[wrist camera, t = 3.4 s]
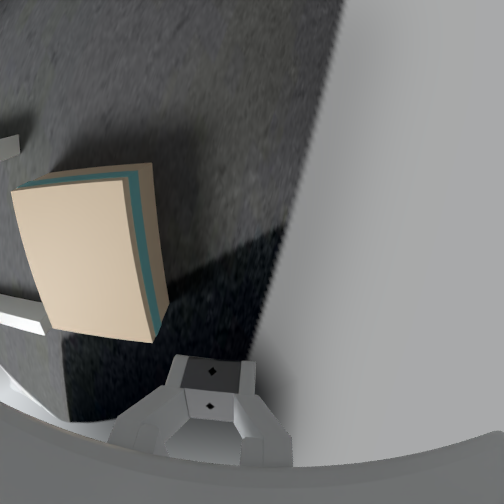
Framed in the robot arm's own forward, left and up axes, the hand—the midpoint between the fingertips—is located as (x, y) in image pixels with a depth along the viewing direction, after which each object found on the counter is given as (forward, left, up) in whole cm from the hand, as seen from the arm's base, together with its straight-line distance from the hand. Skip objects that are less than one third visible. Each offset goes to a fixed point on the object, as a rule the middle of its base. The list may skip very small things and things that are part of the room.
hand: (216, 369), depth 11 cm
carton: (-1, -9, -10) cm, 13 cm away
